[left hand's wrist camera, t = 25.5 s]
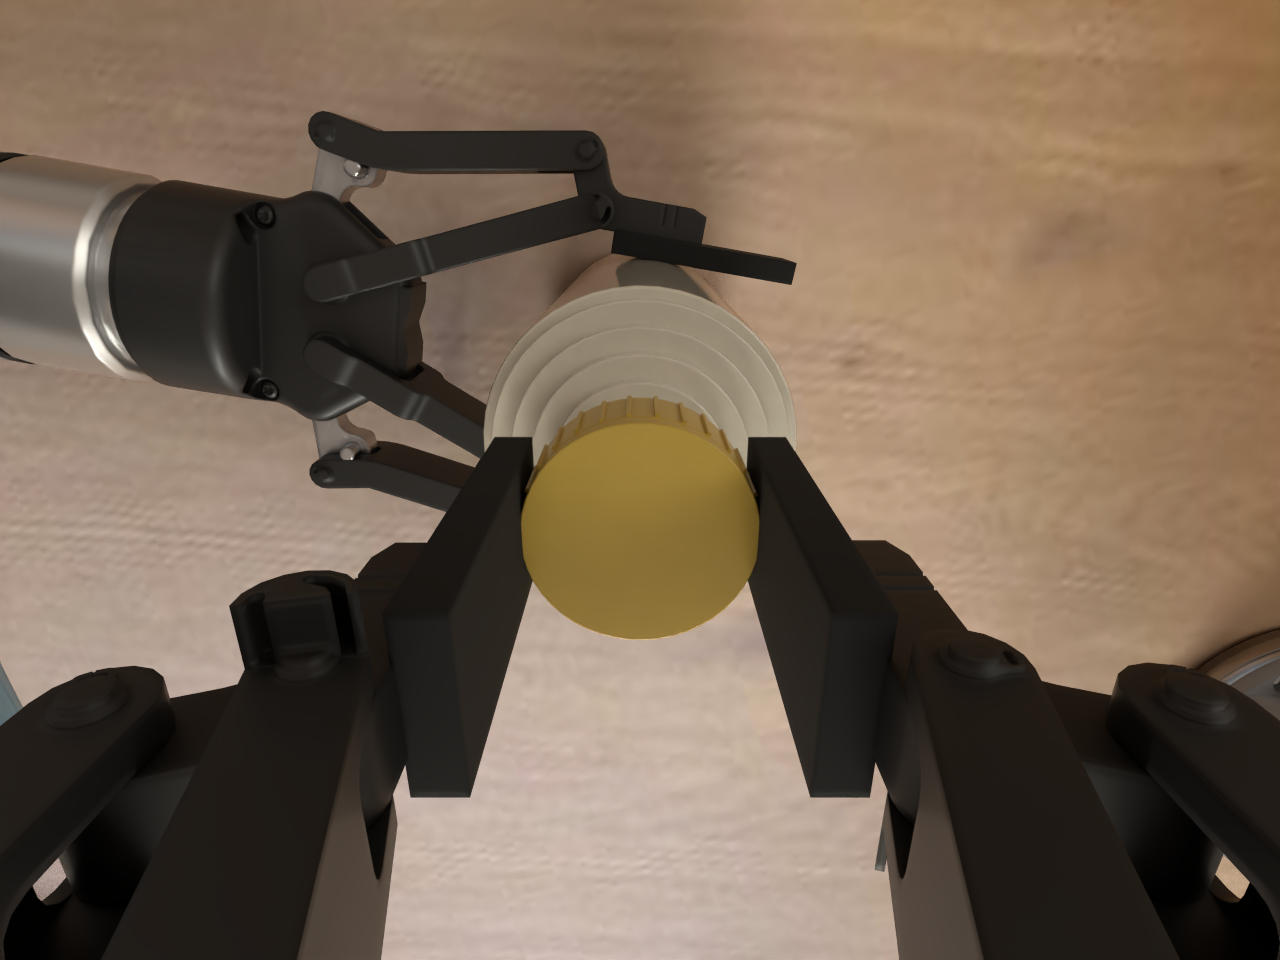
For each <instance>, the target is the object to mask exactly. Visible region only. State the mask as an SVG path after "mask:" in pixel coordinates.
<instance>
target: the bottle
mask: <svg viewBox="0 0 1280 960" xmlns="http://www.w3.org/2000/svg"><path fill="white" fill-rule="evenodd" d="M627 396H632V398H653V397H654V396H658V399H660V400H666V401H670V402H673V403H676V404H678V403H679V402H682V403H683V405H684V407H687V408H689V409H691V410H693V411H695V412H697V413H698V414H700V415H701V414H702V413H704V414H705V415H706V417H707V419H708V420H709V421H710V422H711V423H712V424H714V425H715V426H716V427H717V428H718V429H719V430H721V429H723V430H724V431H725V433H726V436H727V438H728V440H729V442H730V443H731V445H732V446H733V447H734V449H735V448H738V450H739V452H740V454H741V457H742V459H743V462H744V464H745V467H747V450H748V437H786V438H787V440H788V441H789V443H790V444H791V446H792V447H793V449H794V451H795V452H796V446H797V422H796V416H795V409H794V403H793V400H792V396H791V393H790V390H789V386H788V383H787V381H786V379H785V377H784V375H783V372H782V370H781V368H780V366H779V364H778V363H777V361H776V360H775V358H774V356H773V355H772V353H771V352H770V350H769V349H768V347H767V346H766V345H765V344H764V343H763V342H762V340H761V339H760V338H759V337H758V336H757V335H756V333H755V332H754V331H753V330H752V329H751V328H750V327H749V326H748V325H747V324H746V323H745V322H744V320H743V319H742V318H741V317H740V316H739V315H738V314H737V313H736V312H735V311H734V310H733V309H732V308H731V307H730V306H729V304H728V303H727V302H726V301H725V300H724V299H723V298H722V297H721V296H720V295H719V294H718V293H717V292H716V291H715V289H714V288H713V287H712V286H711V285H710V284H709V283H708V282H707V281H706V280H705V279H704V278H703V277H702V276H701V274H700V273H698V272H697V271H696V270H695V269H694V268H693V267H687V266H681V265H676V264H670V263H664V262H658V261H653V260H647V259H641V258H636V257H630V256H624V255H619V254H610V255H608V256H605V257H603V258H602V259H600V260H598V261H596V262H594V263H593V264H592V265H590V266H589V267H588V268H586V269H585V270H584V271H583V272H582V273H581V274H580V275H579V276H578V277H577V278H576V279H575V280H574V281H573V283H572V284H571V285H570V286H569V287H568V288H567V289H566V290H565V291H564V292H563V293H562V294H561V295H560V296H559V298H558V299H557V300H556V301H555V302H554V303H553V304H552V305H551V306H550V307H549V308H548V309H547V310H546V311H545V313H544V314H543V315H542V316H541V317H540V318H539V319H538V320H537V321H536V322H535V323H534V324H533V325H532V326H531V328H530V329H529V330H528V331H527V332H526V333H525V334H524V335H523V336H522V337H521V338H520V339H519V341H518V342H517V343H516V345H515V346H514V347H513V349H512V350H511V351H510V353H509V354H508V355H507V357H506V359H505V360H504V362H503V364H502V366H501V368H500V369H499V371H498V373H497V375H496V378H495V380H494V383H493V386H492V388H491V391H490V394H489V398H488V402H487V407H486V411H485V420H484V451H486V450H487V448H488V446H489V445H490V443H491V442H492V440H493V439H494V437H532V443H533V460H534V466H535V465H537V462H538V460H539V457H540V455H541V452H542V450H543V447H544V446H545V444H547V445H549V443H550V442H551V441H552V440H553V438H554V437H555V436H556V434H557V432H558V429H559V427H560V426H561V425H562V426H563V427H565V426H566V425H567V424H568V423H569V422H570V421H572V420H573V419H574V418H576V417H577V416H578V413H579V412H580V411H583V413H584V412H586V411H588V410H589V409H591V408H593V407H596V406H599V405H601V404H602V401H605V400H606V402H611V401H615V400H620V399H627Z"/></svg>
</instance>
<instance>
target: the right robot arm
mask: <svg viewBox="0 0 1280 960" xmlns="http://www.w3.org/2000/svg"><path fill="white" fill-rule="evenodd" d="M308 130H309V135H310V137H311V140H312V141H313V142H314V144H315V145H316V146H317V147H319V152H318V158H317V164H316V169H315V175H314V181H313V187H312V191H306V192H303V193H300V194H298V195H296V196H293V197H290V198H285V199H284V198H277V197H271V196H265V195H260V194H254V193H248V192H242V191H237V190H231V189H225V188H219V187H214V186H208V185H202V184H196V183H191V182H185V181H179V180H169V181H165V182H162V181H160V180H159V179H157V178H155V177H153V176H151V175H145V174H139V173H134V172H128V171H122V170H117V169H111V168H105V167H100V166H94V165H88V164H83V163H77V162H71V161H66V160H60V159H54V158H49V157H43V156H37V155H25V154H18V153H7V152H6V153H5V152H0V359H5V360H13V361H18V362H23V363H29V364H38V365H43V366H49V367H55V368H61V369H67V370H73V371H79V372H85V373H91V374H97V375H103V376H109V377H115V378H121V379H127V380H133V381H141V382H147V381H153V380H155V381H157V382H159V383H161V384H164V385H167V386H172V387H178V388H185V389H191V390H197V391H204V392H210V393H216V394H223V395H229V396H235V397H241V398H248V399H255V400H264V401H274V402H278V403H282V404H284V405H286V406H288V407H291V408H292V409H294V410H295V411H297V412H298V413H300V414H301V415H303V416H304V417H306V418H308V419H311V420H312V421H313V426H314V431H315V436H316V442H317V447H318V452H319V459H318V460H317V461H316V462H315V463H313V464H312V466H311V468H310V477H311V479H312V481H313V482H314V483H315V484H316V485H318V486H320V487H322V488H371V489H374V490H377V491H381V492H384V493H387V494H390V495H394V496H397V497H400V498H403V499H407V500H410V501H413V502H416V503H419V504H423V505H426V506H429V507H432V508H436V509H439V510H442V511H445V512H447V511H448V509H449V508H450V506H451V504H452V503H453V501H454V500H455V498H456V497H457V495H458V493H459V492H460V490H461V489H462V487H463V486H464V484H465V483H466V481H467V479H468V478H469V476H470V475H471V473H472V472H473V470H474V468H475V467H471V466H468V465H465V464H462V463H459V462H456V461H453V460H450V459H446V458H443V457H440V456H437V455H434V454H431V453H428V452H425V451H421V450H418V449H415V448H412V447H409V446H406V445H402V444H398V443H393V442H386V441H376V437H375V434H374V433H373V432H372V431H370V430H367V429H364V428H360V427H357V426H355V425H353V424H352V423H351V422H350V421H349V419H348V418H347V415H346V413H347V412H349V411H351V410H353V409H355V408H357V407H359V406H360V405H362V404H364V403H366V402H368V401H372V402H374V403H375V404H377V405H379V406H380V407H382V408H384V409H386V410H387V411H389V412H391V413H392V414H394V415H396V416H398V417H400V418H403V419H407V420H414V421H416V422H418V423H420V424H422V425H424V426H425V427H427V428H429V429H430V430H432V431H434V432H436V433H437V434H439V435H441V436H443V437H444V438H446V439H448V440H449V441H451V442H453V443H455V444H456V445H458V446H460V447H461V448H463V449H465V450H467V451H468V452H470V453H472V454H473V455H475V456H477V457H479V458H480V459H481V457H482V456H483V454H484V453H485V451H484V420H485V411H486V407H487V405H486V404H484V403H482V402H481V401H479V400H477V399H476V398H474V397H472V396H471V395H469V394H467V393H466V392H464V391H462V390H461V389H459V388H457V387H456V386H454V385H452V384H451V383H449V382H448V381H446V380H445V379H444V377H443V376H442V374H440V373H439V372H438V371H437V370H435V369H433V368H432V367H430V366H428V365H427V364H425V363H423V362H422V354H423V339H422V334H421V329H420V324H419V319H420V316H421V313H422V310H423V307H424V305H425V298H426V282H422V280H421V276H425V275H428V274H432V273H436V272H439V271H443V270H447V269H451V268H454V267H458V266H462V265H466V264H469V263H473V262H477V261H481V260H484V259H488V258H492V257H496V256H500V255H503V254H507V253H511V252H515V251H518V250H522V249H526V248H530V247H533V246H537V245H541V244H545V243H548V242H552V241H556V240H560V239H564V238H567V237H571V236H575V235H579V234H582V233H586V232H590V231H594V230H597V229H604V230H609V231H614V237H613V243H612V250H611V253H613V254H619V255H624V256H630V257H636V258H641V259H647V260H653V261H658V262H664V263H670V264H676V265H681V266H687V267H693V268H698V269H704V270H710V271H715V272H721V273H727V274H732V275H738V276H744V277H749V278H755V279H761V280H766V281H772V282H778V283H784V284H789V285H792V281H793V276H794V272H795V268H796V264H797V263H795V262H792V261H789V260H786V259H783V258H778V257H772V256H767V255H761V254H756V253H750V252H744V251H739V250H733V249H727V248H722V247H716V246H711V245H705V244H702V239H703V233H704V228H705V223H706V218H707V217H705V216H704V215H702V214H701V213H699V212H698V211H696V210H695V209H691V208H686V207H680V206H675V205H669V204H664V203H658V202H653V201H647V200H642V199H636V198H631V197H627V196H624V195H622V194H620V193H619V192H618V191H617V190H616V189H615V187H614V185H613V183H612V179H611V174H610V169H609V164H608V158H607V152H606V148H605V146H604V144H603V143H602V141H601V139H600V138H599V136H597V135H596V134H595V133H593V132H590V131H382V130H380V129H377V128H374V127H372V126H369V125H367V124H364V123H361V122H359V121H356V120H353V119H350V118H346V117H343V116H340V115H337V114H334V113H330V112H325V111H321V112H318V113H315V114H314V115H313V116H312V117H311V119H310V122H309V124H308ZM387 170H389V171H395V172H402V173H409V174H574V177H575V182H576V187H577V192H578V196H577V197H573V198H569V199H566V200H562V201H558V202H554V203H551V204H547V205H543V206H540V207H536V208H532V209H529V210H525V211H521V212H518V213H514V214H510V215H506V216H503V217H499V218H495V219H492V220H488V221H484V222H481V223H477V224H473V225H469V226H466V227H462V228H458V229H455V230H451V231H447V232H444V233H440V234H436V235H433V236H429V237H425V238H421V239H417V240H412V241H408V242H404V243H401V244H397V245H395V244H394V243H393V242H392V241H391V240H390V239H389V238H388V237H387V236H386V235H385V234H384V233H383V232H382V231H380V230H379V229H378V228H377V227H376V226H375V225H374V224H373V223H372V222H371V221H370V220H369V219H368V218H367V217H366V216H365V215H364V214H363V213H361V212H360V211H359V210H358V209H357V208H356V207H355V206H354V205H353V204H352V203H351V202H350V201H349V200H350V197H351V194H352V193H353V192H354V191H355V190H356V189H358V188H361V187H368V188H374V187H378V186H379V185H381V184H382V182H383V181H384V179H385V176H386V172H387ZM22 708H23V707H22V705H21V703H20V701H19V699H18V697H17V695H16V693H15V691H14V689H13V687H12V685H11V683H10V681H9V679H8V677H7V675H6V673H5V671H4V669H3V667H2V665H1V663H0V726H1V725H2V724H3V723H4V722H6V721H7V720H8V719H9V718H11V717H12V716H13V715H14V714H16V713H17V712H18V711H20V710H21V709H22Z"/></svg>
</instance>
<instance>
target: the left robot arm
mask: <svg viewBox="0 0 1280 960" xmlns="http://www.w3.org/2000/svg"><path fill="white" fill-rule="evenodd" d="M533 469H534V460H533V443H532V437H494V439H493V440H492V442H491V443H490V445H489V446H488V448H487V450H486V451H485V453H484V454H483V456H482V457H481V459H480V461H479V462H478V464H477V465H476V467H475V468H474V470H473V472H472V473H471V475H470V476H469V478H468V479H467V481H466V483H465V484H464V486H463V487H462V489H461V490H460V492H459V493H458V495H457V497H456V498H455V500H454V501H453V503H452V504H451V506H450V508H449V509H448V511H447V512H446V514H445V515H444V517H443V519H442V520H441V522H440V523H439V525H438V526H437V528H436V529H435V531H434V533H433V534H432V536H431V537H430V539H429V540H428V542H427V543H394V544H393V545H391V546H389V547H388V548H386V549H385V550H383V551H381V552H380V553H378V554H376V555H375V556H373V557H371V559H370V560H369V561H368V563H367V564H366V565H365V567H364V568H363V569H362V570H361V572H360V573H359V574H358V578H355V580H354V579H353V578H351V577H350V576H349V575H347V574H344V573H339V572H335V571H330V570H322V571H303V572H298V573H292V574H286V575H282V576H279V577H276V578H274V579H271V580H268V581H265V582H262V583H260V584H258V585H256V586H254V587H252V588H251V589H249V590H247V591H245V592H244V593H242V594H241V595H240V596H239V597H238V598H237V599H236V600H235V601H234V602H233V603H232V604H231V605H230V606H229V607H230V611H231V615H232V619H233V623H234V627H235V631H236V635H237V639H238V643H239V647H240V651H241V655H242V660H243V664H244V668H245V670H244V672H243V674H242V676H241V678H240V680H239V682H238V684H237V685H233V686H229V687H225V688H221V689H216V690H211V691H206V692H201V693H195V694H190V695H185V696H180V697H175V698H170V697H169V694H168V691H167V687H166V684H165V681H164V677H163V676H161V675H160V674H159V673H158V672H156V671H155V670H154V669H151V668H145V667H138V666H128V667H117V668H106V669H101V670H96V672H94V673H93V672H89V673H86V674H82V675H79V676H77V677H75V678H74V679H72V680H70V681H68V682H66V683H63V684H61V685H59V686H56V687H54V688H52V689H50V690H49V691H47V692H46V693H44V694H43V695H41V696H39V697H38V698H36V699H35V700H33V701H32V702H30V703H28V704H27V705H26V706H25V707H23V708H22V709H21V710H20V711H18V712H17V713H16V714H14V715H13V716H12V717H11V718H9V719H8V720H7V721H6V722H4V723H3V724H2V725H1V726H0V960H381V954H382V946H383V938H384V930H385V922H386V914H387V906H388V897H389V889H390V881H391V873H392V865H393V857H394V849H395V841H396V832H397V817H396V810H395V804H394V798H393V793H394V790H395V788H396V786H397V783H398V781H399V778H400V776H401V774H402V771H403V769H404V767H405V765H406V771H407V777H408V784H409V790H410V796H411V797H470V795H471V792H472V789H473V785H474V782H475V778H476V775H477V771H478V768H479V764H480V761H481V757H482V754H483V750H484V747H485V744H486V740H487V737H488V733H489V730H490V726H491V723H492V719H493V716H494V712H495V709H496V705H497V702H498V699H499V695H500V692H501V688H502V685H503V681H504V678H505V674H506V671H507V667H508V664H509V660H510V657H511V654H512V650H513V647H514V643H515V640H516V636H517V633H518V629H519V626H520V622H521V619H522V615H523V612H524V609H525V605H526V602H527V598H528V595H529V591H530V588H531V584H532V581H533V580H532V578H531V576H530V574H529V572H528V570H527V567H526V564H525V561H524V558H523V545H522V530H521V512H522V508H523V504H524V500H525V497H526V495H527V493H526V492H524V491H525V488H526V486H527V483H528V481H529V478H530V476H531V473H532V471H533ZM746 469H747V471H748V473H749V476H750V478H751V480H752V483H753V485H754V488H755V490H756V492H757V496H756V497H755V499H756V502H757V505H758V510H759V515H760V520H759V536H758V550H757V560H756V563H755V565H754V568H753V570H752V573H751V575H750V577H749V579H748V583H749V586H750V590H751V593H752V597H753V600H754V604H755V607H756V611H757V614H758V618H759V621H760V624H761V628H762V631H763V635H764V638H765V642H766V645H767V649H768V652H769V656H770V659H771V662H772V666H773V669H774V673H775V676H776V680H777V683H778V687H779V690H780V694H781V697H782V701H783V704H784V707H785V711H786V714H787V718H788V721H789V725H790V728H791V732H792V735H793V739H794V742H795V745H796V749H797V752H798V756H799V759H800V763H801V766H802V770H803V773H804V777H805V780H806V784H807V787H808V790H809V794H810V797H870V793H871V787H872V780H873V774H874V768H875V762H876V764H877V767H878V769H879V771H880V774H881V776H882V778H883V781H884V783H885V786H886V788H887V790H888V792H887V798H886V804H885V810H884V816H883V822H882V828H881V834H880V840H879V846H878V852H877V858H876V865H875V870H879V871H884V870H885V865H886V859H887V863H888V871H889V880H890V888H891V896H892V904H893V912H894V920H895V928H896V936H897V944H898V953H899V960H1280V630H1276V631H1272V632H1269V633H1266V634H1263V635H1260V636H1257V637H1255V638H1252V639H1250V640H1247V641H1245V642H1243V643H1240V644H1238V645H1236V646H1234V647H1232V648H1230V649H1228V650H1227V651H1225V652H1223V653H1222V654H1220V655H1218V656H1216V657H1215V658H1213V659H1212V660H1210V661H1209V662H1207V663H1206V664H1205V665H1203V666H1202V667H1201V668H1199V669H1198V670H1194V669H1190V668H1189V669H1186V667H1182V666H1177V665H1166V664H1156V663H1142V664H1136V665H1130V666H1127V667H1126V668H1125V669H1124V670H1122V671H1121V672H1120V673H1119V674H1118V676H1117V679H1116V683H1115V686H1114V689H1113V693H1112V695H1107V694H1101V693H1096V692H1091V691H1086V690H1081V689H1076V688H1070V687H1065V686H1060V685H1056V684H1052V683H1048V682H1044V681H1041V679H1040V677H1039V675H1038V673H1037V671H1036V669H1035V668H1034V666H1033V665H1032V664H1031V663H1030V662H1029V660H1028V659H1027V658H1026V657H1025V656H1024V655H1023V654H1022V653H1020V652H1019V651H1017V650H1016V649H1014V648H1013V647H1011V646H1010V645H1008V644H1007V643H1005V642H1002V641H1000V640H998V639H995V638H993V637H990V636H988V635H985V634H982V633H977V632H972V631H968V630H967V629H966V627H965V626H964V625H963V623H962V622H961V621H960V620H959V618H958V617H957V616H956V614H955V613H954V612H953V611H952V609H951V608H950V607H949V605H948V604H947V603H946V602H945V600H944V599H943V598H942V596H941V595H940V594H939V593H938V591H937V590H934V586H933V585H932V584H931V582H930V581H929V580H928V578H927V577H926V576H923V572H922V571H921V569H920V568H919V567H918V566H917V564H916V563H915V562H914V560H913V559H912V558H911V557H910V555H908V554H907V553H905V552H903V551H902V550H900V549H898V548H897V547H895V546H894V545H892V544H890V543H889V542H887V541H885V540H851V538H850V537H849V535H848V533H847V532H846V530H845V529H844V527H843V526H842V524H841V522H840V521H839V519H838V518H837V516H836V515H835V513H834V512H833V510H832V508H831V507H830V505H829V504H828V502H827V501H826V499H825V497H824V496H823V494H822V493H821V491H820V490H819V488H818V487H817V485H816V483H815V482H814V480H813V479H812V477H811V476H810V474H809V472H808V471H807V469H806V468H805V466H804V465H803V463H802V461H801V460H800V458H799V457H798V455H797V454H796V452H795V451H794V449H793V447H792V446H791V444H790V443H789V441H788V440H787V438H786V437H748V450H747V467H746ZM1223 856H1225V857H1226V858H1228V859H1229V860H1230V861H1231V862H1232V863H1233V864H1234V865H1235V867H1236V868H1237V869H1238V870H1239V871H1240V872H1241V873H1242V874H1243V875H1244V876H1245V877H1246V878H1247V879H1248V881H1249V882H1250V883H1249V885H1248V888H1247V890H1246V892H1245V895H1244V896H1243V897H1242V898H1241V899H1240V898H1238V897H1237V896H1236V895H1234V894H1233V893H1232V892H1231V891H1230V890H1229V889H1228V888H1227V887H1226V886H1225V885H1224V884H1223V883H1222V882H1221V881H1220V879H1219V878H1218V877H1217V876H1216V875H1215V873H1216V871H1217V869H1218V866H1219V864H1220V861H1221V859H1222V857H1223ZM58 857H59V860H60V862H61V865H62V867H63V869H64V872H65V874H66V878H65V880H64V881H63V882H62V883H61V884H60V885H59V886H58V888H57V889H56V890H55V891H54V892H53V893H51V894H50V895H49V896H48V897H46V898H45V899H44V900H43V901H41V900H39V899H38V897H37V895H36V893H35V891H34V888H33V885H34V883H35V882H36V881H37V880H38V879H39V878H40V877H41V876H42V875H43V874H44V873H45V871H46V870H47V869H48V868H49V867H50V866H51V865H52V864H53V863H54V862H55V861H56V860H57V858H58Z"/></svg>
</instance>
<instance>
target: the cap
mask: <svg viewBox="0 0 1280 960" xmlns="http://www.w3.org/2000/svg"><path fill="white" fill-rule="evenodd" d="M524 492H526V493H527V495H526V497H525V500H524V504H523V508H522V512H521V530H522V545H523V558H524V561H525V564H526V567H527V570H528V572H529V574H530V576H531V578H532V580H533V582H534V583H535V585H536V586H537V588H538V589H539V591H540V592H541V594H542V595H543V596H544V597H545V598H546V599H547V600H548V602H549V603H550V604H551V605H552V606H553V607H554V608H556V609H557V610H558V611H559V612H560V613H561V614H563V615H564V616H566V617H567V618H569V619H570V620H571V621H573V622H575V623H576V624H578V625H580V626H582V627H584V628H586V629H588V630H591V631H594V632H596V633H599V634H602V635H606V636H610V637H614V638H621V639H628V640H651V639H661V638H666V637H671V636H675V635H678V634H681V633H684V632H687V631H690V630H692V629H694V628H696V627H698V626H701V625H702V624H704V623H706V622H707V621H709V620H711V619H712V618H714V617H715V616H716V615H718V614H719V613H720V612H721V611H723V610H724V609H725V608H726V607H727V606H728V605H729V604H730V603H731V602H732V601H733V600H734V599H735V598H736V596H737V595H738V594H739V593H740V591H741V590H742V589H743V587H744V586H745V584H746V582H747V580H748V579H749V577H750V575H751V573H752V570H753V568H754V565H755V563H756V560H757V550H758V536H759V520H760V515H759V510H758V505H757V502H756V499H755V497H756V496H757V492H756V490H755V488H754V485H753V483H752V480H751V478H750V476H749V473H748V471H747V469H746V467H745V464H744V462H743V459H742V457H741V454H740V452H739V450H738V448H735V449H734V447H733V446H732V445H731V443H730V442H729V440H728V438H727V436H726V433H725V431H724V430H723V429H721V430H719V429H718V428H717V427H716V426H715V425H714V424H712V423H711V422H710V421H709V420H708V419H707V417H706V415H705V414H704V413H702V414H701V415H700V414H698V413H697V412H695V411H693V410H691V409H689V408H687V407H684V405H683V403H682V402H679V403H678V404H676V403H673V402H670V401H666V400H660V399H658V396H654V397H653V398H632V396H627V399H620V400H615V401H611V402H606V400H605V401H602V404H601V405H599V406H596V407H593V408H591V409H589V410H588V411H586V412H584V413H583V411H580V412H579V413H578V416H577V417H576V418H574V419H573V420H572V421H570V422H569V423H568V424H567V425H566V426H565V427H563V426H562V425H561V426H560V427H559V429H558V432H557V434H556V436H555V437H554V438H553V440H552V441H551V442H550V443H549V445H547V444H545V446H544V447H543V450H542V452H541V455H540V457H539V460H538V462H537V465H535V466H534V469H533V471H532V473H531V476H530V478H529V481H528V483H527V486H526V488H525V491H524Z"/></svg>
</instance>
